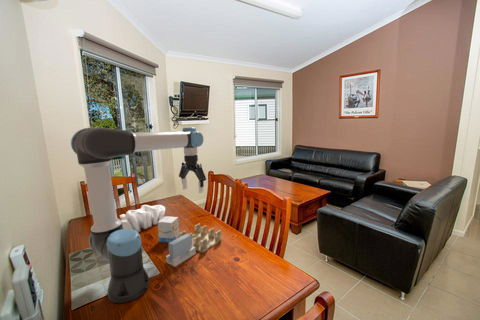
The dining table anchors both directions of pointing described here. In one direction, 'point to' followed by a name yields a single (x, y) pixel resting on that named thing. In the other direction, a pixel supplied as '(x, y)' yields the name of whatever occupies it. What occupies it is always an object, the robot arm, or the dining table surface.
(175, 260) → the holder
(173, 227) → the ink box
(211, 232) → the rack
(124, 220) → the wavy white extrusion
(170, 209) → the dining table surface
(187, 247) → the pale blue slab
